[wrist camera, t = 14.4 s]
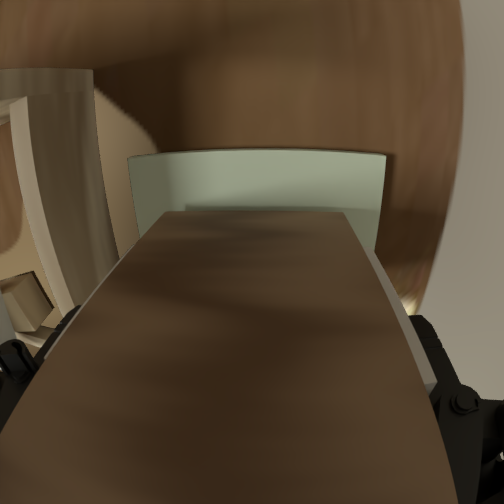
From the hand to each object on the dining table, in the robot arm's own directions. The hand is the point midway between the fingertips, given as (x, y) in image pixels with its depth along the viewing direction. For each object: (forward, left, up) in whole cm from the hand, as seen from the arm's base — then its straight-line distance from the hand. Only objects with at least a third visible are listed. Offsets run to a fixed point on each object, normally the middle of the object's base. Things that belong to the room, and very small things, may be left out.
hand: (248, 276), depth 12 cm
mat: (0, 0, -4) cm, 4 cm away
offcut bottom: (-21, -6, -4) cm, 22 cm away
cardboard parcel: (0, 0, -2) cm, 2 cm away
